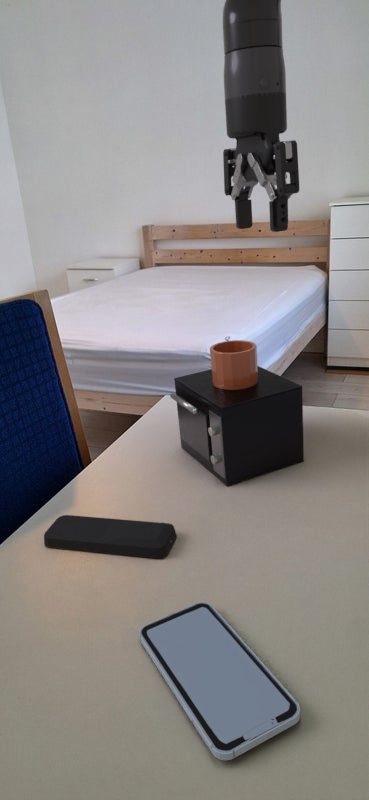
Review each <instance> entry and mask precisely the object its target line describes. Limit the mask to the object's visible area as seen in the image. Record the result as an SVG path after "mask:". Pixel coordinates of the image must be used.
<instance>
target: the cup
mask: <svg viewBox="0 0 369 800" xmlns="http://www.w3.org/2000/svg"><path fill="white" fill-rule="evenodd" d="M257 348H258V347H257V344H256V342H253V341H249V340H241V339H240V340H239V339H234V340H225V341H220V342H217V343H214V344H213V345H211V346H210V347H209V354H210V366H211V367H210V369H212V380H213V385H214V386H215V387H217V388H220V389H225V390H239V389H245V388H249V387H251V386H254V385H255V384H256V383H257V382H258V366H259V365H258V349H257Z"/></svg>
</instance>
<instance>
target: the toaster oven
mask: <svg viewBox="0 0 369 800" xmlns="http://www.w3.org/2000/svg"><path fill="white" fill-rule="evenodd" d="M257 366H258V382H257V383H256V384H255V385H254V386H251V387H249V388H245V389H239V390H225V389H220V388H217V387H215V386H214V385H213V380H212V369H211V368H210V369H206V370H203V371H198V372H194V373H190V374H186V375H181V376H178V377H174V378H173V380H174V387H175V388H174V390H175V392H171V393H170V396H169V397H170V398H171V399H172V400H174V401H175V402H176V406H177V407H176V409H177V419H178V427H179V428H178V429H179V437H180V438H179V439H180V447H181V449H183V450H184V451H185V452H186V453H187V454H189V456H190V457H192V458H193V459H194V460H195V461H197V463H199V464H200V465H201V466H203V467H204V468H205V469H206V470H207V471H209V472H210V473H211V474H212V475H213V476H215V478H217V479H218V480H219V481H220V482H221V483H222V484H223V485H225V486H226V487H230V486H233V485H236V484H239V483H242V482H245V481H249V480H251V479H254V478H258V477H261V476H263V475H267V474H270V473H272V472H275V471H279V470H281V469H285V468H288V467H291V466H294V465H297V464H300V463H303V462H304V461H305V457H304V456H305V454H304V453H305V452H304V417H303V416H304V408H303V406H304V403H303V386H302V385H301V384H299V383H296V382H294V381H292V380H290V379H288V378H286V377H284V376H281V375H280V374H277V373H275V372H273V371H270V370H268V369H266V368H264V367H262V366H259V365H257Z"/></svg>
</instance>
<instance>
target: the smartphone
mask: <svg viewBox="0 0 369 800" xmlns="http://www.w3.org/2000/svg"><path fill="white" fill-rule="evenodd" d="M138 636H139V641H140V643H141V644H142V646H143V648H144V649H145V651H146V653H147V654H148V656H149V657H150V659H151V660H152V661H153V663H154V665H155V666H156V667H157V669H158V671H159V672H160V675H162V677H163V679H164V680H165V682H166V683H167V685H168V686H169V688H170V690H171V691H172V693H173V695H174V696H175V698H176V699H177V701H178V702H179V704H180V705H181V707H182V708H183V710H184V711H185V713H186V715H187V717H188V718H189V719H190V721H191V722H192V724H193V725H194V727H195V728H196V730H197V731H198V733H199V735H200V736H201V738H202V740H203V742H204V743H205V744H206V746H207V747H208V749H209V750H210V752H211V754H212V755H213V756H214V757H215V758H216V759H218V760H220V761H231V760H233V759H235V758H237V757H239V756H241V755H242V754H244V753H246V752H248V751H251V749H253V748H255V747H257V746H259V745H260V744H262V743H264V742H266V741H268V740H269V739H271V738H273V737H275V736H277V735H278V734H280V733H283V732H284V731H286V730H288V729H289V728H291V727H293V726H294V725H296V724H297V723H298V722H299V720H300V718H301V708H300V704H299V702H298V701H297V700H296V699H295V698H294V696H293V695H292V694H291V693H290V692H289V691H288V690H287V689H286V688H285V686H284V685H283V684H282V683H281V682H280V681H279V680H278V678H277V677H276V676H275V675H274V673H272V671H270V669H269V668H268V667H267V666H266V665H265V664H264V663H263V662H262V660H261V659H260V658H259V657H258V656H257V655H256V654H255V652H253V650H252V649H251V648H250V647H249V645H247V644H246V642H245V641H244V640H243V639H242V638H241V637H240V636H239V634H238V633H237V632H236V631H235V629H233V627H232V626H231V625H230V624H229V622H228V621H226V619H224V617H223V616H222V615H221V614H220V612H219V611H218V610H217V609H216V608H215V607H214V606H213V605H212V604H211V603H209V602H207V601H199V602H196V603H193V604H191V605H188V606H186V607H184V608H182V609H179V610H177V611H175V612H172V613H170V614H167V615H165V616H163V617H161V618H158V619H155V620H153V621H151V622H148V623H146V624H144V625H143V626H141V627H140V629H139V631H138Z"/></svg>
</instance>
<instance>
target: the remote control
mask: <svg viewBox="0 0 369 800" xmlns="http://www.w3.org/2000/svg"><path fill="white" fill-rule="evenodd" d="M177 535H178V534H177V532H176V529H175V526H174V525H173V524H172V523H168V522H157V521H144V520H134V519H133V520H132V519H121V518H109V517H98V516H97V517H95V516H84V515H72V514H71V515H70V514H63V515H60V516H58V518H55V520H54V521H53V522H52V524H51V525H50V526H49V528H48V529H47V530H46V531H45V532H44V534H43V545H44V547H46V548H52V549H63V550H70V551H71V550H72V551H82V552H90V553H101V554H112V555H122V556H132V557H141V558H150V559H163V558H165V557H167V556H168V555H169V553H170V551H171V549H172V547H173V545H174V543H175V541H176V539H177Z"/></svg>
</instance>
